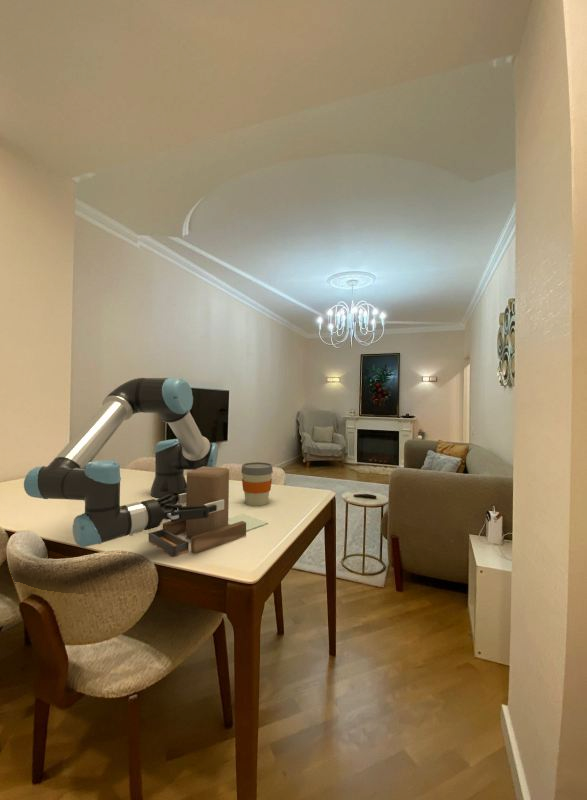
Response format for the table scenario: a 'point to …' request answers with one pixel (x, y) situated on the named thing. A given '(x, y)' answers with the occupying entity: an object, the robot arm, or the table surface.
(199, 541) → the alley
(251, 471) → the reusable coffee cup
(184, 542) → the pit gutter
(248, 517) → the pad
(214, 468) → the block
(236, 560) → the table surface
